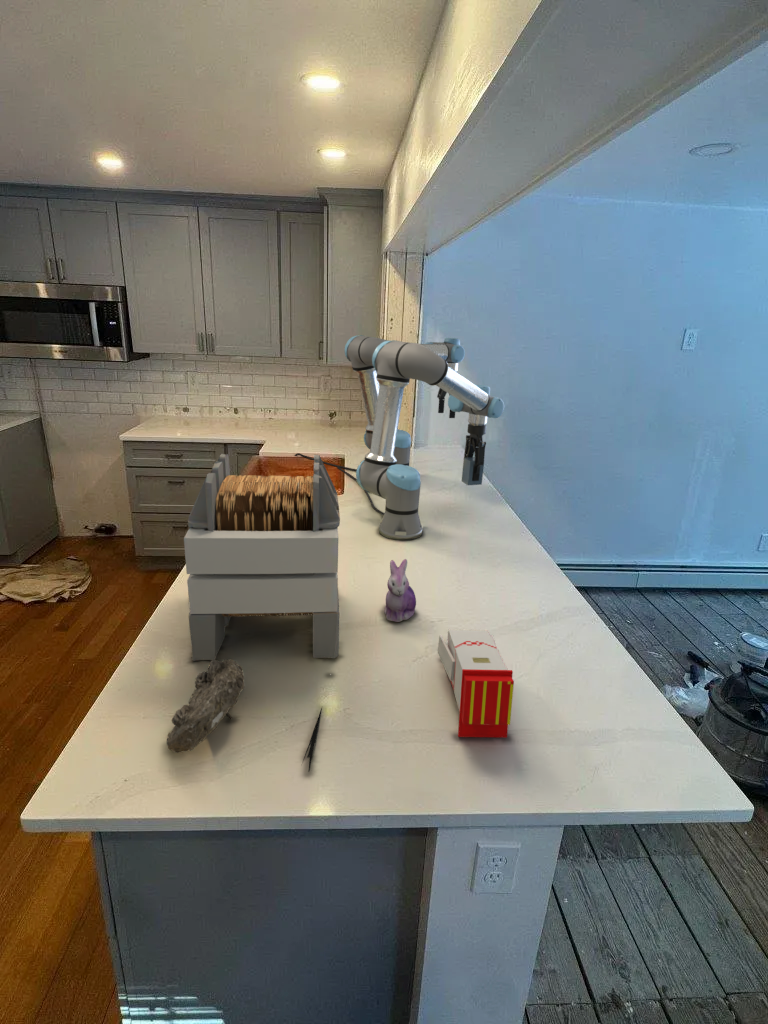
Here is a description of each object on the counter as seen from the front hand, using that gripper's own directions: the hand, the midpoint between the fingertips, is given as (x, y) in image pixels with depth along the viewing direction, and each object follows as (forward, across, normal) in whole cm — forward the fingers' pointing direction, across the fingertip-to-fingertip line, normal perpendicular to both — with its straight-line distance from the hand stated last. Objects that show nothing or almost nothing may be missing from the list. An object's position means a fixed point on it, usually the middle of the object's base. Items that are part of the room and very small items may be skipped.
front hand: (471, 478), depth 239 cm
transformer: (+9, -81, +94) cm, 125 cm away
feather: (+9, -119, +90) cm, 150 cm away
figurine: (+9, -85, +62) cm, 106 cm away
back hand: (-17, +50, -9) cm, 53 cm away
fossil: (+10, -113, +110) cm, 158 cm away
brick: (+2, 0, 0) cm, 2 cm away
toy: (+9, -119, +58) cm, 133 cm away
